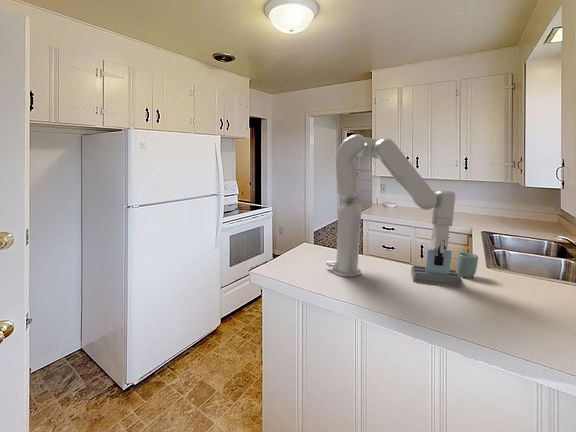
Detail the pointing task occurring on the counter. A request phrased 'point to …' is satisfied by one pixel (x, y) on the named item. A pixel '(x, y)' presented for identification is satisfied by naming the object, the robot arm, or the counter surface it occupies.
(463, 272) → the cup
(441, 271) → the light blue upright panel
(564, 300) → the counter surface
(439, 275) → the rack
